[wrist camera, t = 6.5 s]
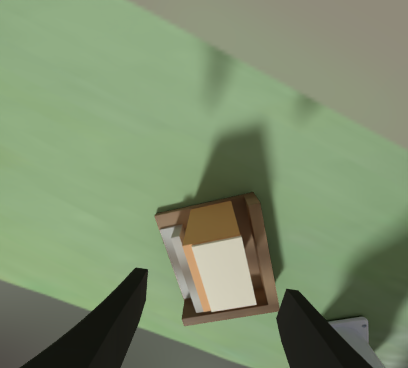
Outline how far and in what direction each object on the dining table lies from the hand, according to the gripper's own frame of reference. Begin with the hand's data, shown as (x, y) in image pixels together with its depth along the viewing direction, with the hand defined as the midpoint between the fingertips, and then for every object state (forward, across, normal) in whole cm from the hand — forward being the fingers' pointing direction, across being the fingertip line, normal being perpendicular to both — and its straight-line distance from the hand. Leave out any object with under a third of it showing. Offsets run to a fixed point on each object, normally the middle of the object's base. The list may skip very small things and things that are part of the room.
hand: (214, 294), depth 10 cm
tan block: (+9, -1, +2) cm, 10 cm away
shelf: (+10, -1, +5) cm, 11 cm away
